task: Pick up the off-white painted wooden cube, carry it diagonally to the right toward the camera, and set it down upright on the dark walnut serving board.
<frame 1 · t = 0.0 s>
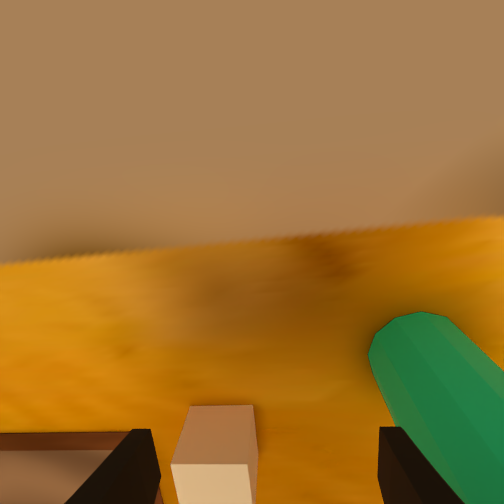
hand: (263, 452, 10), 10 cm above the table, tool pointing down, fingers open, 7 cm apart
cube: (225, 429, 23), on the table
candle: (415, 352, 20), on the table
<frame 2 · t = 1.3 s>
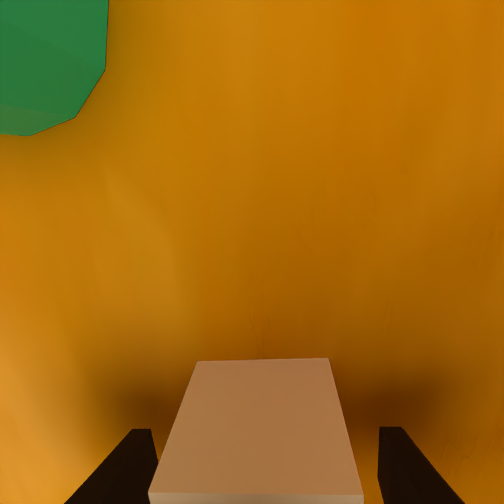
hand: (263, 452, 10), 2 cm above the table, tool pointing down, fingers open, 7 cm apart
cube: (266, 410, 11), on the table
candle: (4, 15, 8), on the table
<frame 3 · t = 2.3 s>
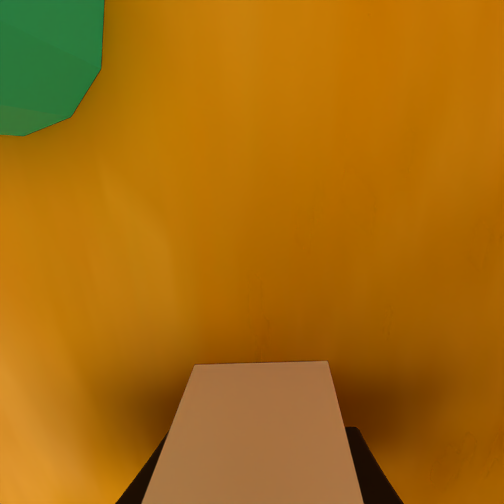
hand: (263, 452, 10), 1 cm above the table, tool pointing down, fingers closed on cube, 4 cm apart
cube: (264, 416, 11), on the table, touching gripper
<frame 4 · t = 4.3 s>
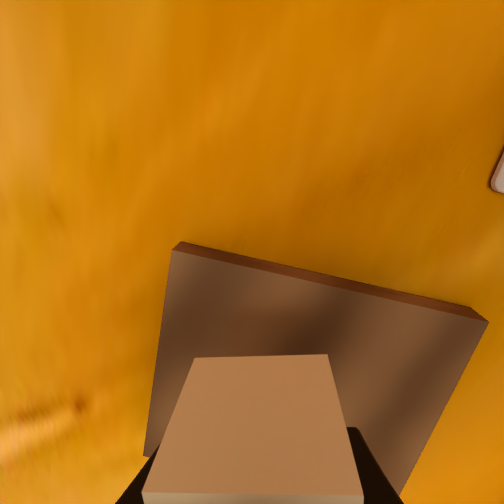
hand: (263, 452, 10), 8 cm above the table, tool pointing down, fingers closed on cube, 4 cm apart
walnut board: (292, 378, 19), on the table
cube: (264, 409, 11), point 7 cm above the table, touching gripper
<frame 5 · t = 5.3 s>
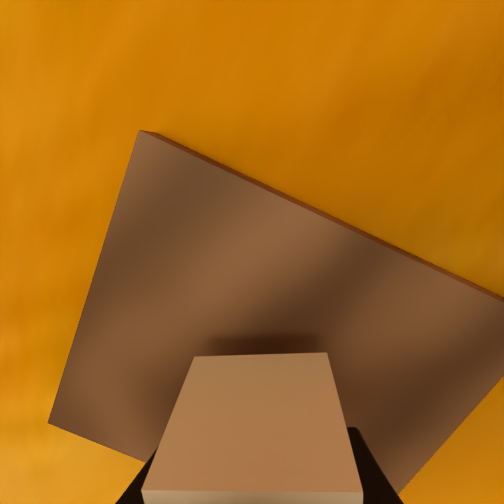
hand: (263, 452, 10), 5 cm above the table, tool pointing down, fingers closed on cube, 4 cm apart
walnut board: (267, 357, 14), on the table
cube: (264, 408, 11), point 3 cm above the table, touching gripper
when the fingers open (4 cm above the table, at t = 6.3 s): cube stays where it is, resting on walnut board.
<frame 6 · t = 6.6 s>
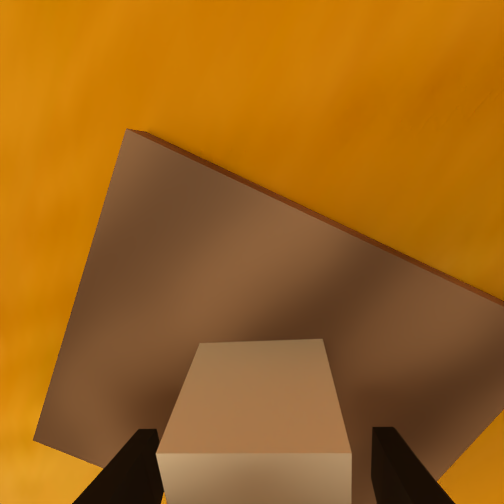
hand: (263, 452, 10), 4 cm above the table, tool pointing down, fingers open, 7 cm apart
walnut board: (266, 370, 14), on the table
cube: (264, 391, 12), point 1 cm above the table, touching walnut board
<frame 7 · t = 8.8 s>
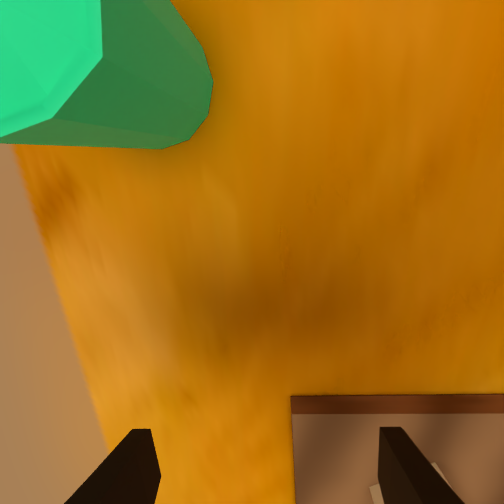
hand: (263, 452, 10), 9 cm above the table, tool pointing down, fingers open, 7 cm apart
walnut board: (409, 476, 22), on the table
cube: (417, 497, 20), point 1 cm above the table, touching walnut board
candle: (155, 86, 16), on the table
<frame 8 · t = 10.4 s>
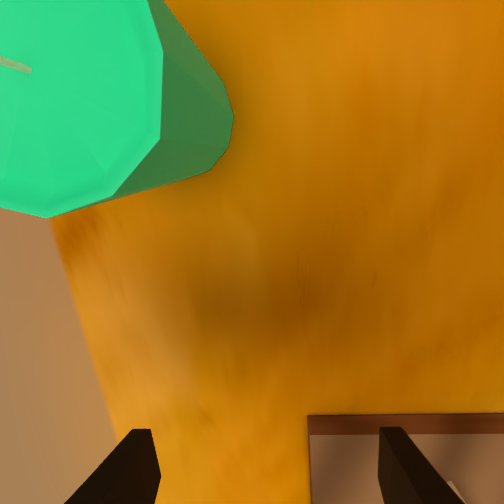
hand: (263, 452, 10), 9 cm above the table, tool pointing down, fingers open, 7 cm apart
walnut board: (424, 493, 22), on the table
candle: (176, 120, 16), on the table
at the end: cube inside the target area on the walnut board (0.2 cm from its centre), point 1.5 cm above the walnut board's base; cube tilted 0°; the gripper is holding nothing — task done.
